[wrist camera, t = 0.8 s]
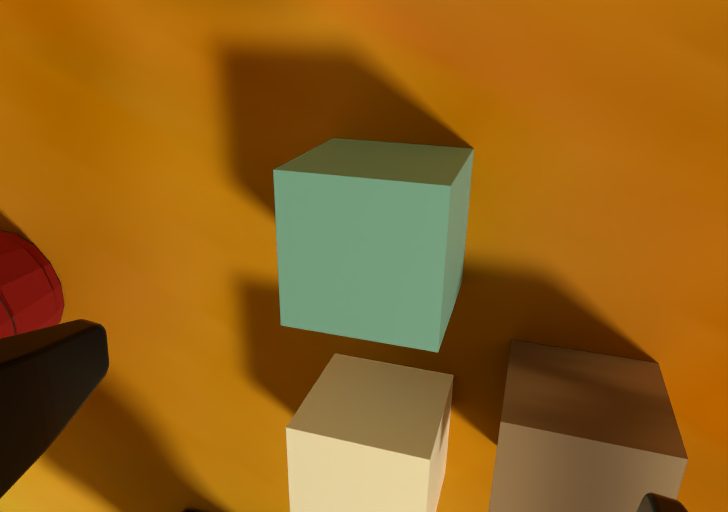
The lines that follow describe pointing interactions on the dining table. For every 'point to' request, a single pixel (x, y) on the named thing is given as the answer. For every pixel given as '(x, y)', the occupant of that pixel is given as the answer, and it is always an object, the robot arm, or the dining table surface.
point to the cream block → (370, 439)
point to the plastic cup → (26, 288)
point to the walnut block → (583, 433)
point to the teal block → (372, 239)
